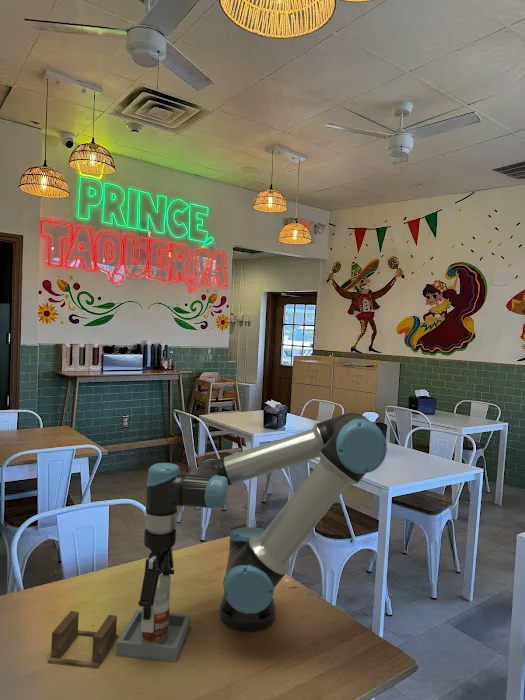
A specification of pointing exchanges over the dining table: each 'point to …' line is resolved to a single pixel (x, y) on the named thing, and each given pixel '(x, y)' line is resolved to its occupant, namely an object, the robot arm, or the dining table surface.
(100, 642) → the wooden open frame
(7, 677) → the dining table surface
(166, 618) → the pill bottle
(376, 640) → the dining table surface
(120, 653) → the tray
